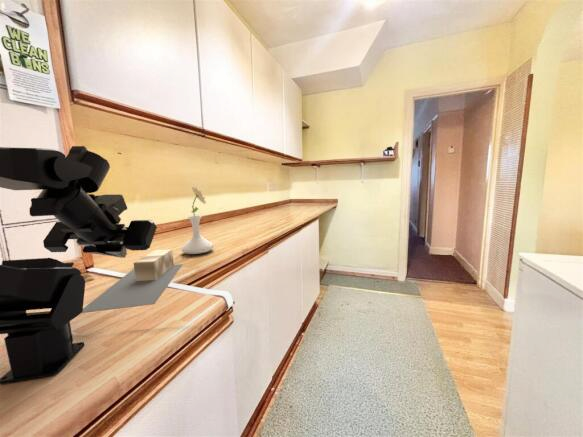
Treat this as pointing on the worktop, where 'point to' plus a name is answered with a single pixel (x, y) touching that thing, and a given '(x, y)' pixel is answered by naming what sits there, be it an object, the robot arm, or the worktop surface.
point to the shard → (88, 277)
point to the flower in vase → (196, 231)
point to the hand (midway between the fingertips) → (124, 255)
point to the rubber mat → (132, 291)
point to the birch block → (153, 265)
